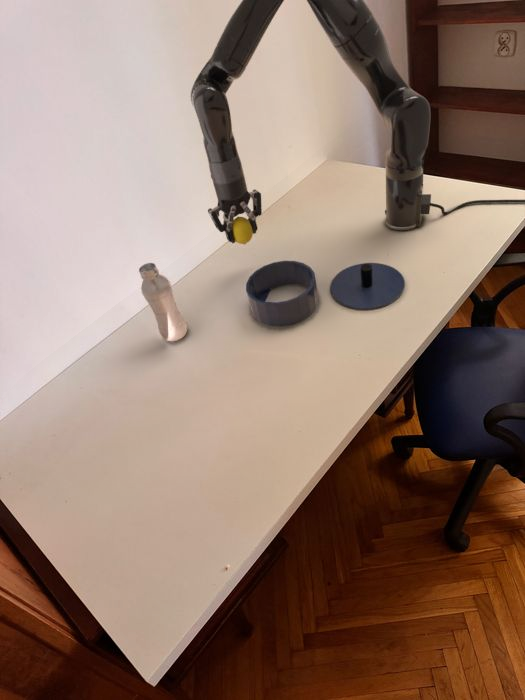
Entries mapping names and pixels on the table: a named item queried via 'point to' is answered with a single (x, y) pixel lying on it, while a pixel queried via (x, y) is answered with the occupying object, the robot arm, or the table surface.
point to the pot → (284, 310)
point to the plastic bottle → (162, 303)
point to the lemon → (242, 230)
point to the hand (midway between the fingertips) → (243, 236)
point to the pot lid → (367, 286)
